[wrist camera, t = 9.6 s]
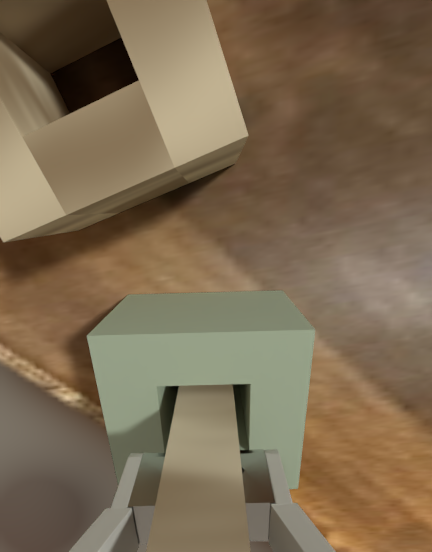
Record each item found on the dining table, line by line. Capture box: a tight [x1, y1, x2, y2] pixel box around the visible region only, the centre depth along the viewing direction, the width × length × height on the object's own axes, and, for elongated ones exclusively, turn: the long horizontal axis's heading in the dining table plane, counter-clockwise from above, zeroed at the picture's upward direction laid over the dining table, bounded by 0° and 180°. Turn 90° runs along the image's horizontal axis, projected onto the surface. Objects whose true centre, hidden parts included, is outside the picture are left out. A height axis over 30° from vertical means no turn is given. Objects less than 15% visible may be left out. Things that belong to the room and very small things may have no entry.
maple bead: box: [0, 0, 248, 242], centre depth 8 cm, size 9×9×4 cm
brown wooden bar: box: [146, 384, 250, 552], centre depth 7 cm, size 3×3×12 cm
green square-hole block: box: [87, 291, 315, 489], centre depth 12 cm, size 9×9×4 cm
